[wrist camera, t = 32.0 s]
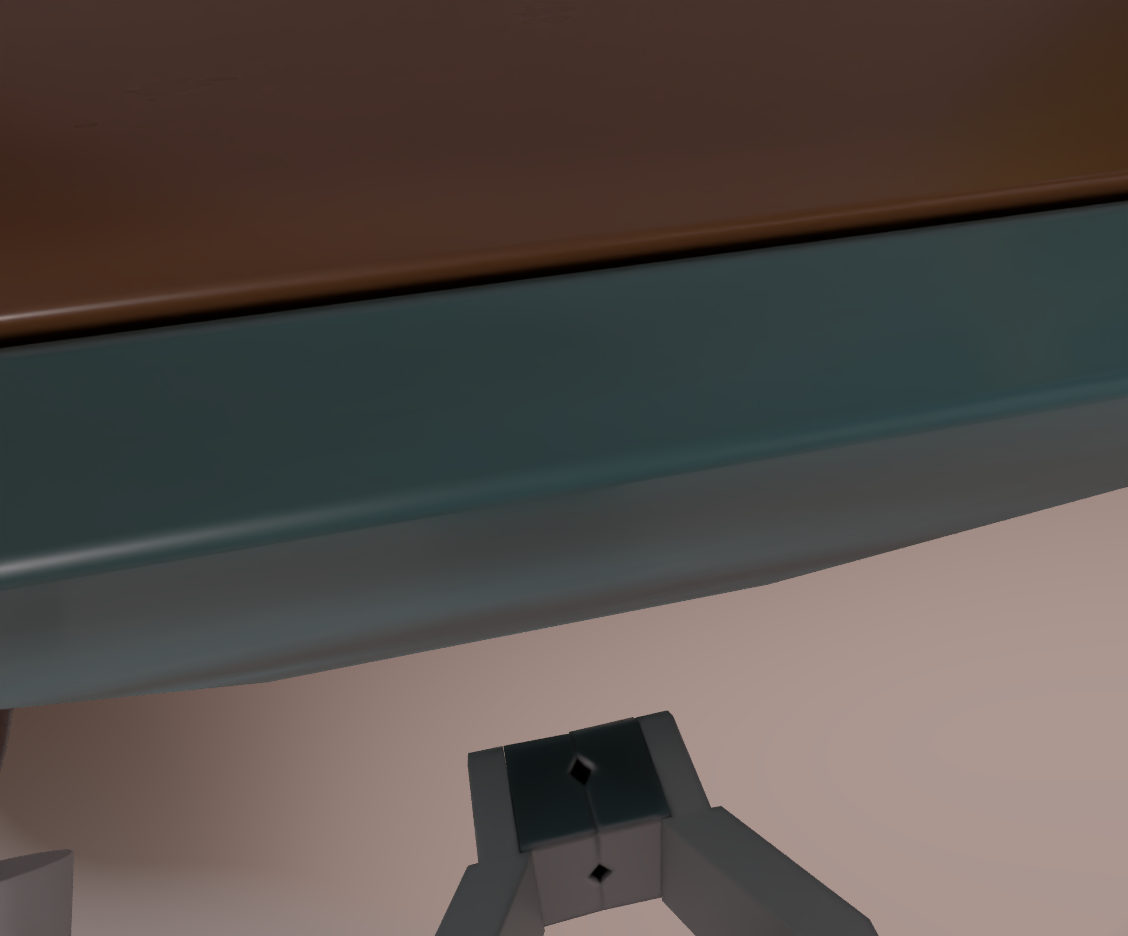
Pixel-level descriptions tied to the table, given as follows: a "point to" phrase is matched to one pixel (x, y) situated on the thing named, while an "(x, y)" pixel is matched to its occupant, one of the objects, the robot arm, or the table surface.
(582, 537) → the teal box lid
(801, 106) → the wooden box
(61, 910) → the lamp
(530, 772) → the robot arm
